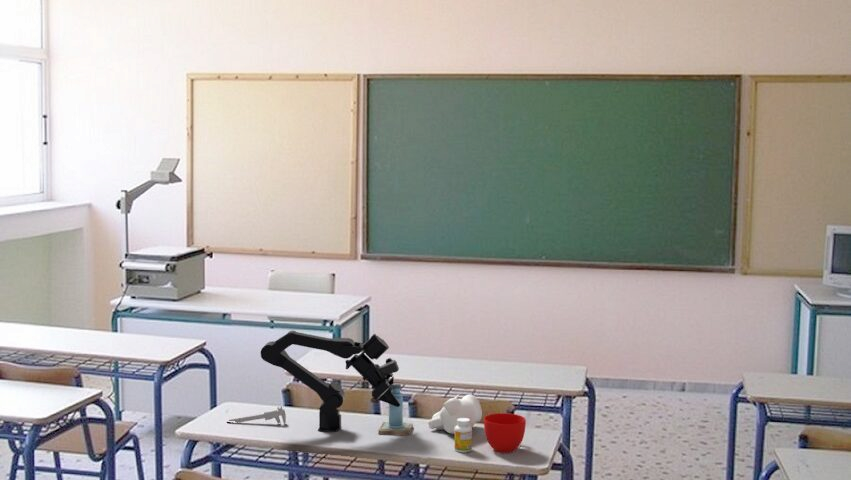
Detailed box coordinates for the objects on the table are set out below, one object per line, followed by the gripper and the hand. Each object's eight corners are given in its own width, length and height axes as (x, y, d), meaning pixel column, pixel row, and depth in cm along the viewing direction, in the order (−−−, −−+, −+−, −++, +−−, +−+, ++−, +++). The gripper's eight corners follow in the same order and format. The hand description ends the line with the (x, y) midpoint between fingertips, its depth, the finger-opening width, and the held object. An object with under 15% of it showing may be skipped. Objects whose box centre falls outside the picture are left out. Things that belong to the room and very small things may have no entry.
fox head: (430, 400, 345) (415, 411, 326) (474, 386, 341) (462, 396, 322) (442, 437, 344) (428, 450, 325) (487, 424, 340) (475, 436, 321)
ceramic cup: (530, 442, 322) (531, 411, 321) (521, 458, 306) (521, 426, 305) (490, 439, 326) (491, 408, 325) (479, 454, 310) (479, 422, 309)
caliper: (285, 424, 341) (285, 406, 341) (285, 425, 340) (285, 406, 340) (226, 423, 342) (225, 405, 341) (225, 424, 341) (225, 405, 340)
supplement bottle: (453, 447, 316) (453, 417, 315) (470, 447, 316) (470, 417, 316) (455, 452, 311) (455, 422, 310) (472, 452, 311) (473, 421, 310)
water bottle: (390, 428, 331) (391, 387, 330) (386, 424, 336) (386, 383, 334) (405, 427, 333) (405, 385, 331) (400, 423, 337) (400, 382, 336)
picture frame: (378, 433, 330) (378, 429, 330) (383, 425, 340) (383, 421, 340) (408, 435, 329) (408, 431, 329) (412, 426, 339) (412, 422, 339)
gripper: (382, 358, 323) (416, 392, 323) (386, 346, 341) (418, 379, 342) (357, 382, 324) (391, 416, 324) (363, 369, 342) (395, 401, 343)
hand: (400, 402), depth 333 cm, fingers open, 9 cm apart
